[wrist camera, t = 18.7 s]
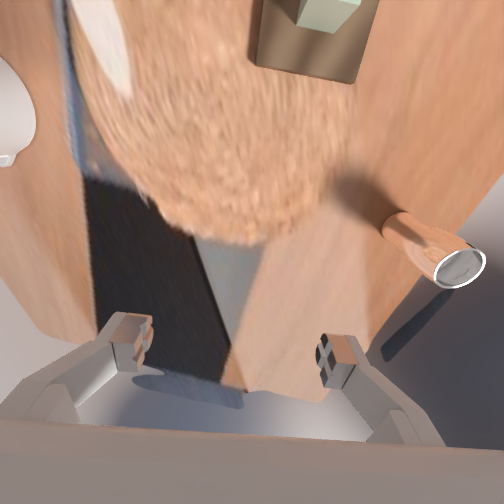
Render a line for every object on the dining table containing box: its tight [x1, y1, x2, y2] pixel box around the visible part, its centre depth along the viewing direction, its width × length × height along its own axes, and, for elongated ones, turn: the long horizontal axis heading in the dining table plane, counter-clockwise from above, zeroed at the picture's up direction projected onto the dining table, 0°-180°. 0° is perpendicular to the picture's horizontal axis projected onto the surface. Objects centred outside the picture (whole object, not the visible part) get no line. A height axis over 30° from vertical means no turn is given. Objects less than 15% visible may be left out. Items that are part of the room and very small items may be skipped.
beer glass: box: [381, 212, 486, 288], centre depth 38 cm, size 7×7×15 cm
